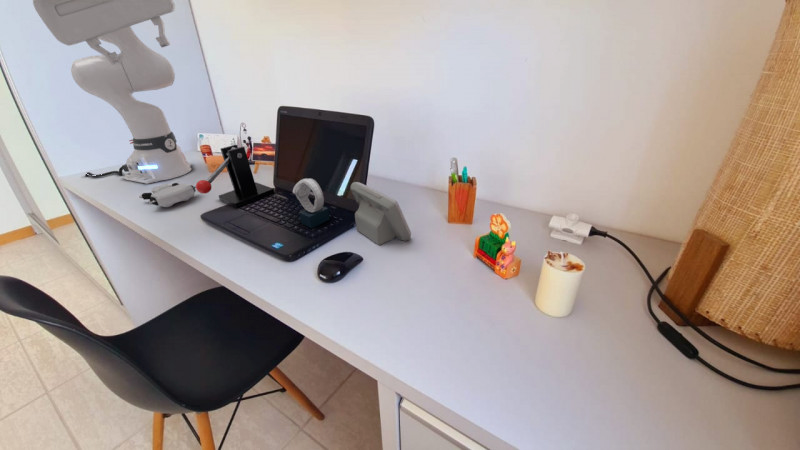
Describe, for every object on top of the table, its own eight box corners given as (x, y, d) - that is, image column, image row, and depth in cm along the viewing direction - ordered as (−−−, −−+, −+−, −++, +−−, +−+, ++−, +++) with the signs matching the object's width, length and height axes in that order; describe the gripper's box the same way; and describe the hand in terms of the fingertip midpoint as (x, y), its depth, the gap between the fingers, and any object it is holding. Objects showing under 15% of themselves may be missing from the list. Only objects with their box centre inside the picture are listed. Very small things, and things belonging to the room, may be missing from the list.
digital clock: (415, 242, 70) (413, 197, 65) (376, 254, 67) (371, 208, 62) (383, 213, 83) (379, 173, 78) (349, 222, 80) (343, 181, 74)
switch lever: (207, 197, 86) (196, 189, 84) (201, 194, 89) (190, 186, 86) (245, 156, 91) (236, 146, 89) (239, 154, 93) (229, 144, 91)
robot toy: (140, 206, 97) (160, 214, 89) (132, 192, 95) (152, 199, 87) (182, 191, 106) (204, 197, 98) (176, 178, 104) (198, 183, 95)
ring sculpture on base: (314, 212, 85) (306, 173, 80) (334, 221, 80) (327, 179, 75) (296, 221, 82) (286, 180, 76) (316, 230, 77) (306, 187, 71)
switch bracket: (236, 208, 90) (219, 156, 83) (219, 200, 96) (201, 151, 89) (274, 193, 98) (261, 144, 91) (257, 186, 104) (243, 140, 97)
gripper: (147, -49, 59) (196, 35, 68) (26, -13, 56) (94, 70, 64) (139, -54, 54) (193, 37, 63) (6, -15, 51) (82, 75, 60)
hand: (142, 54), depth 64 cm, fingers open, 8 cm apart
